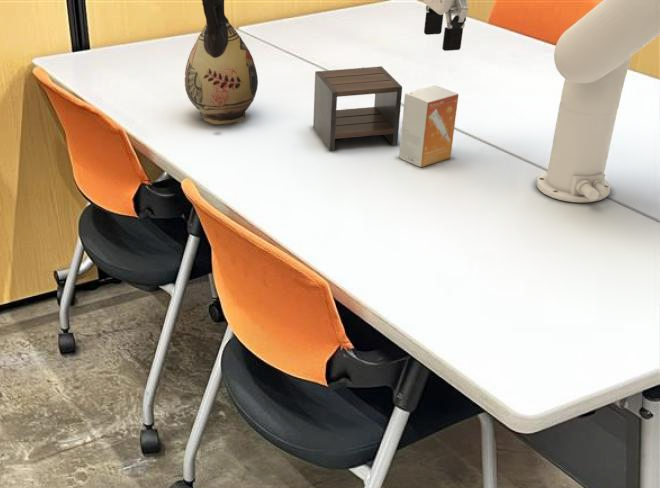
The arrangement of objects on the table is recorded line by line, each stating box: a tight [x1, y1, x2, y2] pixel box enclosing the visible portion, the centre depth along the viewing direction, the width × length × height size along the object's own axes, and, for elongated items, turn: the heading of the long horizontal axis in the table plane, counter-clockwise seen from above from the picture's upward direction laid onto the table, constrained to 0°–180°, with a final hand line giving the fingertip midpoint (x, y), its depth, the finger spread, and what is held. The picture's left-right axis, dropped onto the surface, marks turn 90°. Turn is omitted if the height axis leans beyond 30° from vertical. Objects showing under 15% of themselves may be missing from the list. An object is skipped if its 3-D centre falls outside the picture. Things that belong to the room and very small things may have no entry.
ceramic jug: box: [184, 0, 259, 126], centre depth 203 cm, size 17×15×30 cm
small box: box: [398, 84, 459, 168], centre depth 187 cm, size 8×6×13 cm
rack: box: [312, 66, 403, 152], centre depth 197 cm, size 13×14×12 cm
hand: (441, 41), depth 179 cm, fingers open, 9 cm apart
